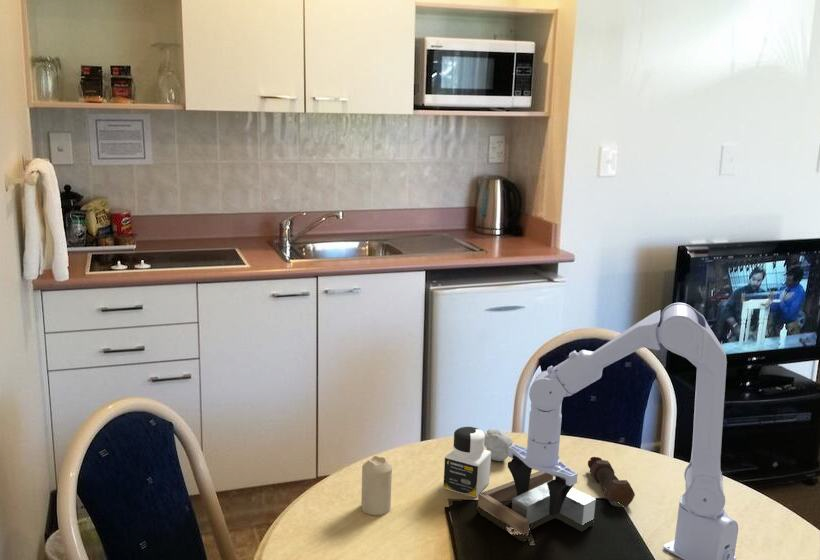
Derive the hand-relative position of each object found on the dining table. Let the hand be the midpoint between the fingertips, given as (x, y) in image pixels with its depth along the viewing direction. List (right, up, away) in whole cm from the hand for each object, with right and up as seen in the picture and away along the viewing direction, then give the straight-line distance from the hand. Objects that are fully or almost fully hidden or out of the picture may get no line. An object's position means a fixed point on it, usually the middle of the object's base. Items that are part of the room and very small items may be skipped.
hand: (538, 505), depth 142 cm
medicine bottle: (-12, 0, +12) cm, 17 cm away
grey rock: (-5, +3, +24) cm, 25 cm away
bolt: (+16, -1, +14) cm, 21 cm away
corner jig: (0, -2, +3) cm, 4 cm away
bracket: (+2, -3, -1) cm, 4 cm away
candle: (-30, -2, +3) cm, 30 cm away
